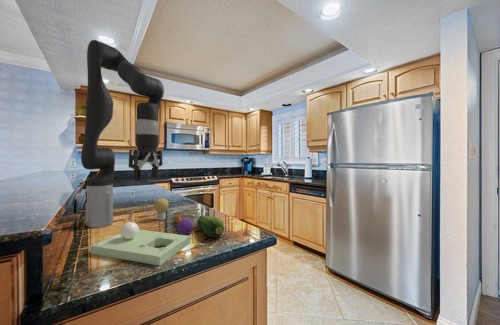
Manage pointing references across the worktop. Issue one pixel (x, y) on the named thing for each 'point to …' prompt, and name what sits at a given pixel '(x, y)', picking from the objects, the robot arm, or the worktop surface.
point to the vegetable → (211, 225)
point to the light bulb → (161, 208)
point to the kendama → (183, 225)
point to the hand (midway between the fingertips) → (146, 179)
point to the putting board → (142, 247)
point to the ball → (129, 230)
